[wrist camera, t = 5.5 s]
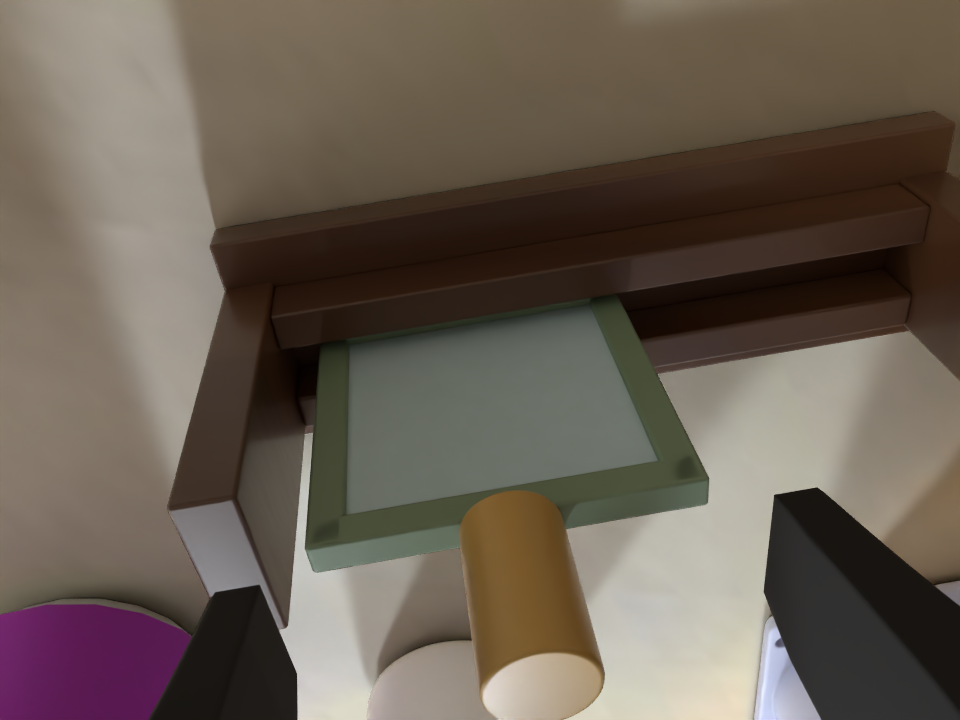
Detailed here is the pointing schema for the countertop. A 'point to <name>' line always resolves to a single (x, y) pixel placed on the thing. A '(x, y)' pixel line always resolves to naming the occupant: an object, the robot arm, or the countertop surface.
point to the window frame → (563, 292)
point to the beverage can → (86, 660)
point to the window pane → (499, 474)
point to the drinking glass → (429, 686)
